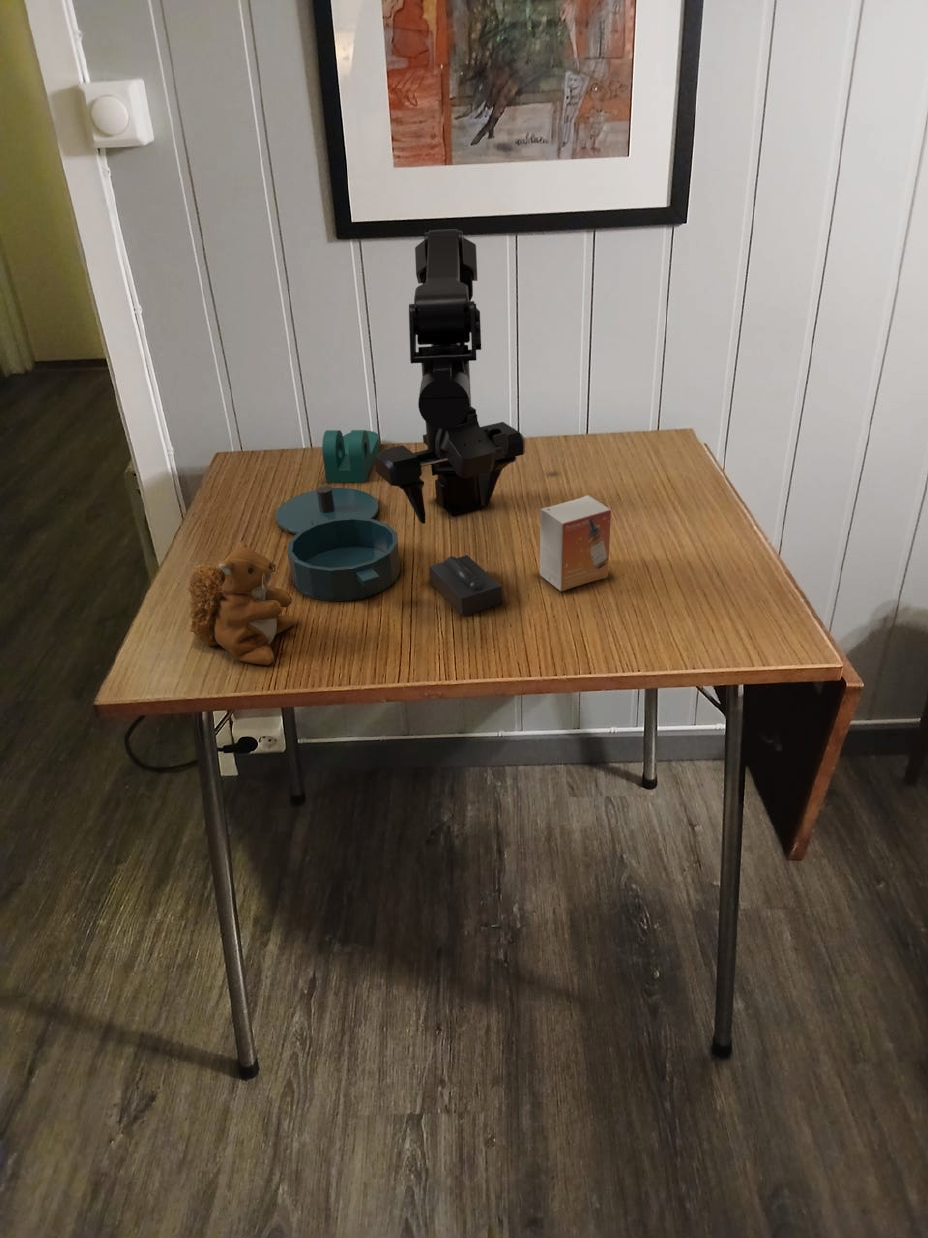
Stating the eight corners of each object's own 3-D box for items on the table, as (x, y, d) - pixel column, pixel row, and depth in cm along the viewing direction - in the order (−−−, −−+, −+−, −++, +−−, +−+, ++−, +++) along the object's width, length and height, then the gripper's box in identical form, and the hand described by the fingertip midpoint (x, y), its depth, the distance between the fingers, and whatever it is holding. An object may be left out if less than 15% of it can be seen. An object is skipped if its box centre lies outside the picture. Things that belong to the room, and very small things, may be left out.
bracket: (364, 482, 160) (359, 439, 155) (326, 482, 160) (320, 439, 156) (382, 441, 174) (378, 401, 170) (347, 441, 175) (342, 401, 171)
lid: (356, 485, 159) (353, 459, 156) (395, 522, 146) (392, 495, 144) (263, 508, 153) (259, 482, 150) (295, 549, 140) (291, 521, 138)
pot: (369, 531, 144) (365, 501, 141) (426, 590, 128) (423, 558, 126) (273, 556, 139) (268, 527, 136) (320, 622, 123) (315, 589, 120)
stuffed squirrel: (275, 668, 114) (257, 576, 107) (174, 655, 118) (149, 565, 111) (307, 624, 122) (293, 536, 115) (212, 613, 126) (192, 527, 119)
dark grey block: (468, 571, 132) (466, 547, 130) (502, 603, 125) (501, 578, 122) (430, 583, 130) (428, 558, 128) (462, 616, 122) (461, 590, 120)
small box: (560, 593, 126) (561, 524, 120) (538, 575, 130) (538, 507, 125) (609, 577, 129) (612, 508, 123) (586, 560, 133) (588, 493, 127)
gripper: (404, 435, 104) (414, 557, 112) (547, 402, 110) (547, 520, 119) (367, 406, 112) (379, 522, 121) (502, 377, 119) (505, 489, 127)
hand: (454, 513), depth 122 cm, fingers open, 9 cm apart
